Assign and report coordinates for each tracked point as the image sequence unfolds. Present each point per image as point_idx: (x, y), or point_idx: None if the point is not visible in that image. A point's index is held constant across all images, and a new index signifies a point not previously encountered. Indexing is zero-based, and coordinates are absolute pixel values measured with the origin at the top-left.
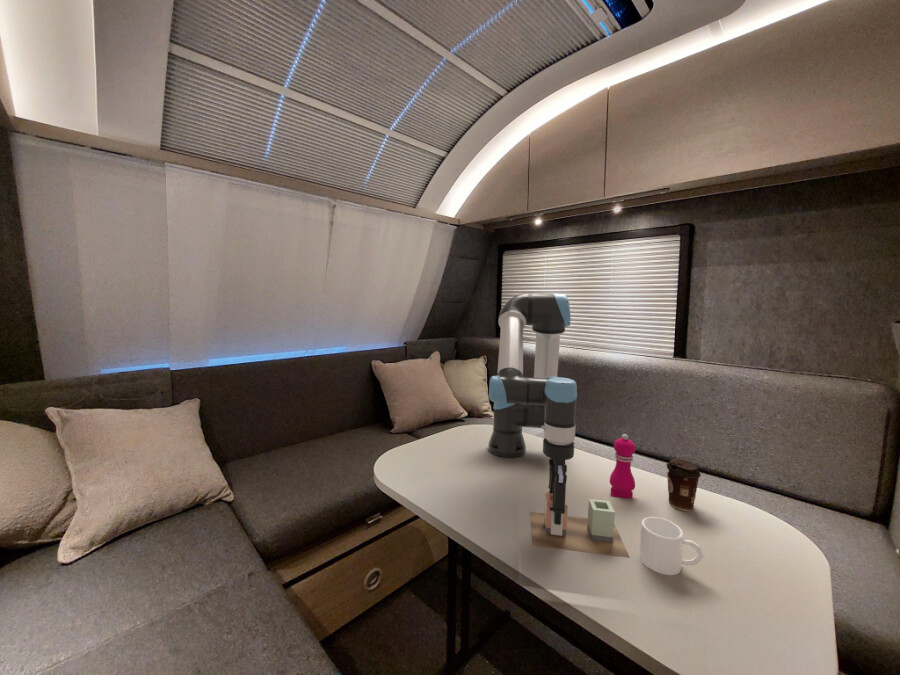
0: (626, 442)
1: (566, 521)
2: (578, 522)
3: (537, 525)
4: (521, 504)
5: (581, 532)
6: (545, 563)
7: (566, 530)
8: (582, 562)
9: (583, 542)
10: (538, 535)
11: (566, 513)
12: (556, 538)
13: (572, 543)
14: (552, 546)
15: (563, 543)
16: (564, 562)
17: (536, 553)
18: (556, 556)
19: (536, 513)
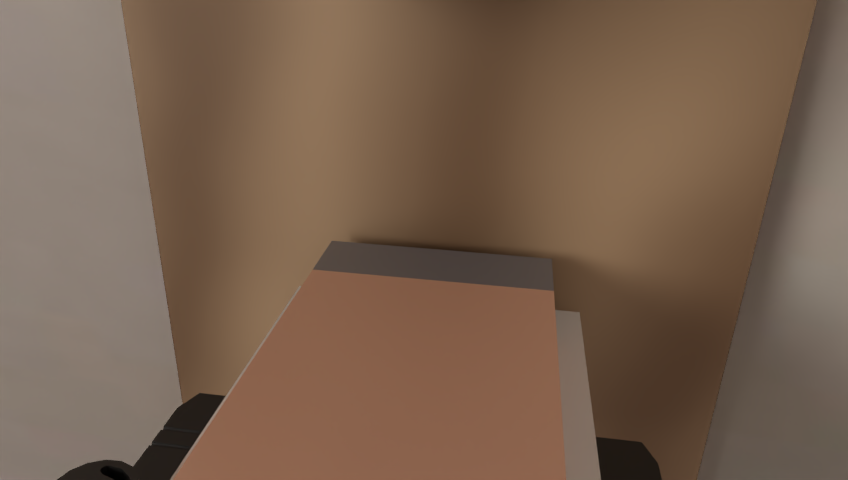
0: None
1: (555, 356)
2: (235, 45)
3: None
4: (57, 471)
5: (428, 54)
6: (828, 438)
7: (551, 286)
8: (838, 125)
9: (619, 75)
10: None
11: (561, 443)
12: None
13: (647, 206)
14: (698, 398)
15: (649, 294)
16: (826, 292)
17: (700, 476)
18: (740, 340)
19: None
